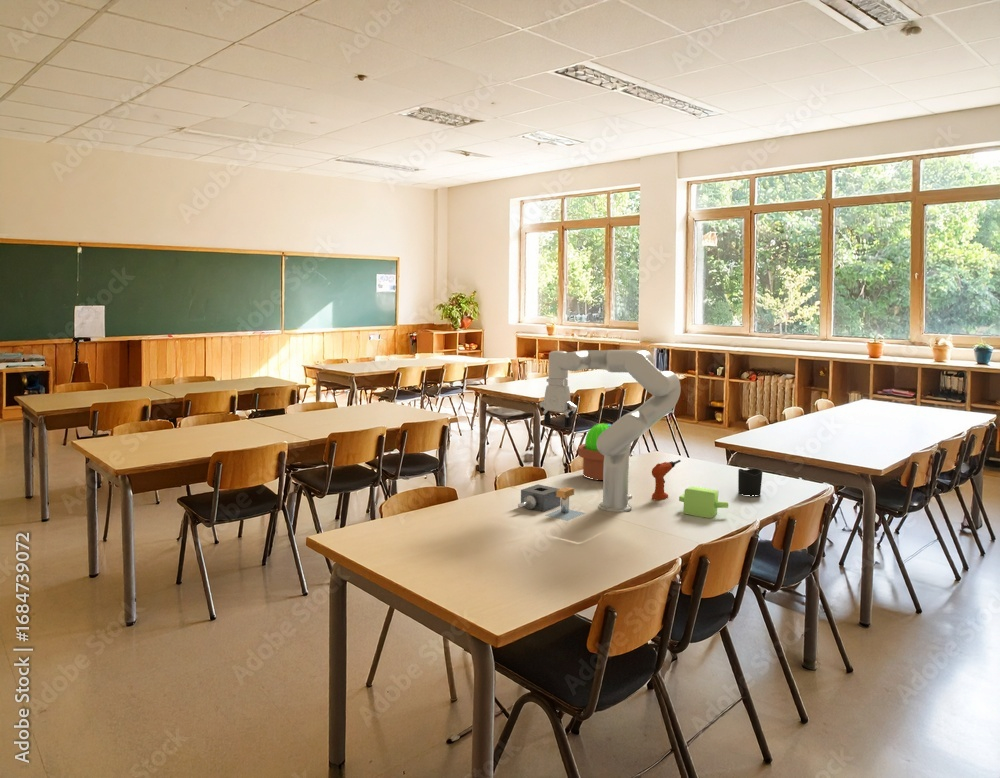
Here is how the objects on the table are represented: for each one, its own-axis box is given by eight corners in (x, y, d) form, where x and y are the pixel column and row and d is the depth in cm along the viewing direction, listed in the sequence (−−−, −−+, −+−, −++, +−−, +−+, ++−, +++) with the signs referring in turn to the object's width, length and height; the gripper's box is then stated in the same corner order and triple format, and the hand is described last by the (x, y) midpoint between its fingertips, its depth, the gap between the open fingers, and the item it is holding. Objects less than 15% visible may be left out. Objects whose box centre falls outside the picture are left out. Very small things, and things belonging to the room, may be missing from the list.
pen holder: (756, 498, 299) (758, 474, 298) (734, 494, 305) (735, 471, 304) (764, 493, 307) (765, 470, 306) (741, 489, 312) (743, 466, 311)
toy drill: (686, 489, 307) (684, 454, 304) (659, 503, 295) (657, 467, 292) (676, 486, 311) (674, 452, 308) (649, 500, 299) (647, 465, 296)
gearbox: (730, 515, 278) (732, 491, 277) (723, 521, 269) (725, 495, 268) (683, 507, 287) (685, 483, 286) (675, 512, 279) (677, 487, 278)
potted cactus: (570, 479, 330) (571, 423, 326) (588, 468, 349) (589, 416, 346) (617, 485, 319) (619, 428, 316) (633, 474, 339) (635, 420, 335)
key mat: (563, 509, 283) (563, 508, 283) (585, 514, 277) (585, 513, 276) (544, 516, 274) (544, 515, 274) (567, 521, 267) (567, 520, 267)
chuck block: (537, 501, 294) (537, 484, 293) (560, 506, 287) (560, 488, 286) (507, 512, 279) (507, 494, 278) (531, 517, 272) (531, 499, 271)
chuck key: (565, 509, 281) (566, 486, 280) (573, 511, 279) (574, 488, 278) (556, 513, 276) (556, 490, 275) (564, 515, 274) (564, 491, 273)
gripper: (534, 381, 292) (534, 424, 294) (571, 385, 281) (570, 429, 284) (545, 380, 298) (545, 421, 300) (581, 383, 287) (581, 426, 289)
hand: (557, 425), depth 292 cm, fingers open, 9 cm apart
